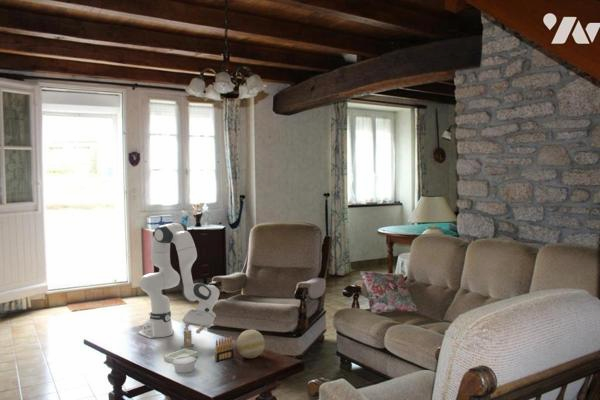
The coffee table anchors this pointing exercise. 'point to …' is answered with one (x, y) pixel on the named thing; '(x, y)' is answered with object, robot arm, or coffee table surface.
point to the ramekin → (184, 364)
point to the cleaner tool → (187, 340)
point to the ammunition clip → (224, 350)
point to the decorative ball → (250, 343)
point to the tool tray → (180, 354)
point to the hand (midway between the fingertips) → (191, 331)
